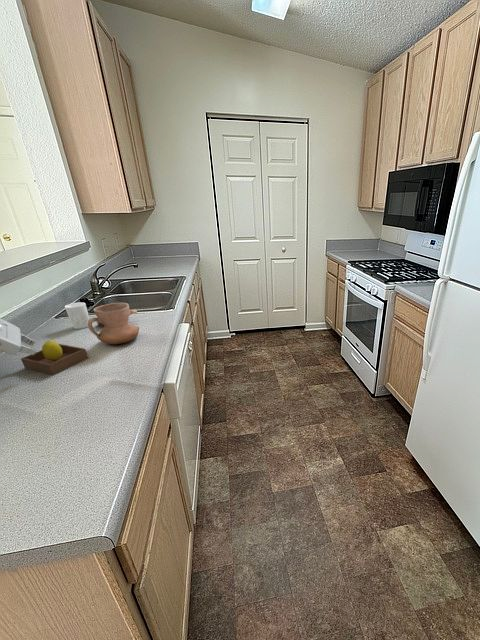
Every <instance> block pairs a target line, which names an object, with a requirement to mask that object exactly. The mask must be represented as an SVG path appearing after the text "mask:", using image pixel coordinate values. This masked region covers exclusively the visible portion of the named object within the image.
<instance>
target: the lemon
mask: <svg viewBox="0 0 480 640" xmlns="http://www.w3.org/2000/svg"><path fill="white" fill-rule="evenodd" d="M59 344H60V343H58V342H56V341H53V340H46V341H45V342H44V343H43V345H42V347H41V350H42V352H43V355H44V356H45V358H46V359H48V360H51V361H58V360H59V359H60V358H61V357H62V355H63V352H62V348H61V347H60V345H59Z"/></svg>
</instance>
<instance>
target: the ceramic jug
mask: <svg viewBox="0 0 480 640" xmlns="http://www.w3.org/2000/svg"><path fill="white" fill-rule="evenodd" d="M93 312H94V314H95V316H96V317H92V318H91V317H90V318H89V321H88V327H87V328H88V330H89V331H90V333H92V334H93V335H94V336H95V337H96V338H97V340H99V341H100V342H102V343H103V344H107V345H121V344H126V343H128V342H131V341H133V340H134V339H135V338H137V337H138V335H139V332H140V326H139V325H138V326H137V325H135V324H133V323H131V322H129V317H131V315H132V314H136V315H137V314H138V310H137V309H131V310H130V305H129V303H127V302H112V303H107V304H103V305H99V306H96V307H94V308H93ZM97 322H99V323H102V324H103V325H104V326H103V328H101V330H100V331H99V333H98V332H96V331H95V329H94V328H93V323H97Z"/></svg>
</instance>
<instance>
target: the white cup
mask: <svg viewBox="0 0 480 640" xmlns="http://www.w3.org/2000/svg"><path fill="white" fill-rule="evenodd" d="M64 308H65V311H66V313H67V316H68V318H69V320H70V323H71V325H72V327H73V329H77V330H81V329H85V328H88V321H89V320H90V316H89V311H88V307H87V304H86V303H85V302H84V301H83V302H81V301H78V302H71V303H68V304H66V305H65V306H64Z"/></svg>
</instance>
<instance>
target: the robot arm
mask: <svg viewBox="0 0 480 640" xmlns="http://www.w3.org/2000/svg"><path fill="white" fill-rule="evenodd" d="M21 332H22V331H21V328H20V327H18V326H16V325H15V324H13V323H11V322H9V321H7V320H5V319H3V318H0V351H1V352H3V353H6V354H9V355H11V356H16V355H17V354H18V353H23V354H28V355H34V354H35V353H36V352H37V349H36V348H34V347H32V346H34V344H35V340H34V339H33V338H30V337H28V336H26V335H25V334H23V333H21ZM22 342H23V343H25V344H26V345H28V346H26V345H24V344H22ZM29 346H30V347H29Z"/></svg>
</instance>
